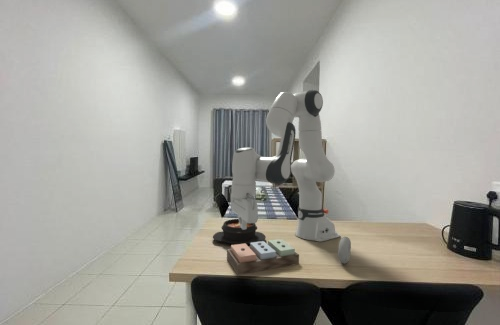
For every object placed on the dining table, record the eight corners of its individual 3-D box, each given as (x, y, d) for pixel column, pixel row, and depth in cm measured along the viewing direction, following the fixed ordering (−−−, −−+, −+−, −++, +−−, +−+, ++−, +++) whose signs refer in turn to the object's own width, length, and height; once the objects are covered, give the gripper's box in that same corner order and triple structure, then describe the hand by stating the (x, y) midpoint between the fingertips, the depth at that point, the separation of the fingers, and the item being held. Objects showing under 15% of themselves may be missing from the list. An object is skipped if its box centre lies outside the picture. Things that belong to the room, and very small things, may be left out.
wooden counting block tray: (281, 250, 104) (282, 242, 104) (298, 263, 91) (299, 254, 91) (226, 258, 95) (227, 249, 95) (237, 274, 82) (237, 264, 82)
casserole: (209, 247, 105) (210, 228, 105) (215, 233, 124) (215, 217, 123) (267, 248, 105) (267, 229, 105) (264, 234, 124) (264, 217, 123)
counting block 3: (280, 246, 102) (280, 238, 102) (294, 257, 92) (294, 248, 92) (267, 248, 100) (268, 239, 100) (280, 259, 90) (280, 250, 89)
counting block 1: (245, 251, 96) (245, 242, 96) (255, 263, 86) (255, 253, 86) (230, 253, 94) (230, 244, 94) (239, 266, 84) (239, 256, 84)
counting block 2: (263, 248, 99) (263, 240, 99) (275, 260, 89) (275, 250, 89) (249, 250, 97) (250, 242, 97) (260, 262, 87) (261, 252, 87)
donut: (346, 269, 88) (347, 242, 87) (336, 266, 90) (337, 240, 89) (351, 259, 96) (352, 234, 96) (342, 256, 98) (343, 232, 98)
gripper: (263, 196, 80) (262, 236, 81) (242, 187, 99) (242, 220, 100) (245, 197, 78) (244, 239, 79) (228, 187, 97) (227, 221, 98)
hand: (242, 228), depth 90 cm, fingers closed
